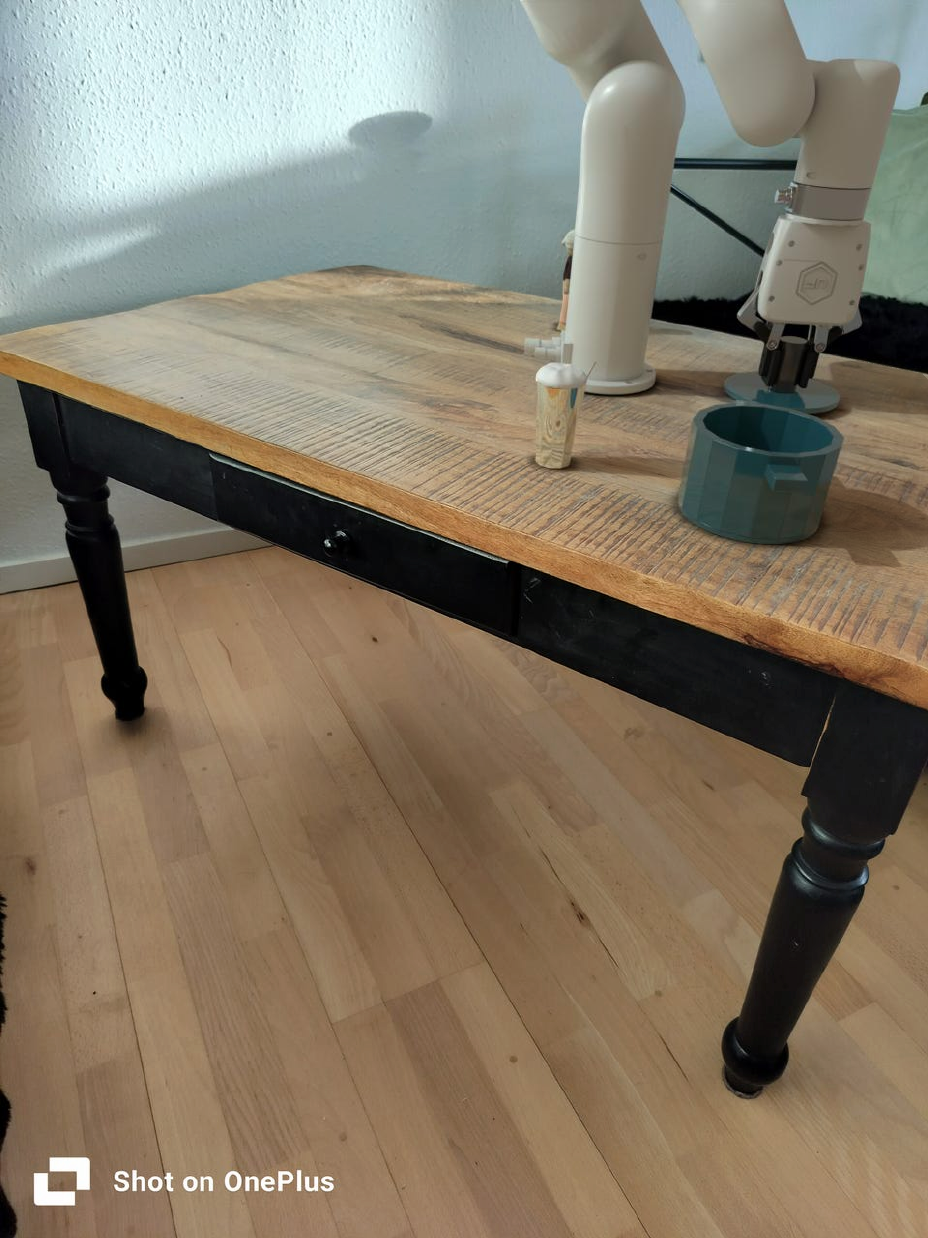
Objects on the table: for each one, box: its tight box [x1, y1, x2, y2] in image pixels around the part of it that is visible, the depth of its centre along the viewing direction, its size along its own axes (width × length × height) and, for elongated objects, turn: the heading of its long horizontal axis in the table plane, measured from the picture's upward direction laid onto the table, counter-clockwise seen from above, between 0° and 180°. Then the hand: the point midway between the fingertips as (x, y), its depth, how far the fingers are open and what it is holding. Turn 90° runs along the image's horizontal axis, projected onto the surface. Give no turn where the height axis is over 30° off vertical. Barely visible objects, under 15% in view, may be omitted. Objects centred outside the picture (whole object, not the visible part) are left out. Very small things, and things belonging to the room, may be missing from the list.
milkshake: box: [535, 362, 596, 470], centre depth 78 cm, size 4×5×10 cm
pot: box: [677, 399, 845, 545], centre depth 72 cm, size 12×17×8 cm
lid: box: [723, 335, 841, 415], centre depth 97 cm, size 13×13×7 cm
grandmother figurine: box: [556, 228, 575, 332], centre depth 117 cm, size 8×4×13 cm, turn 179°
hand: (783, 381), depth 97 cm, fingers closed on lid, 3 cm apart
